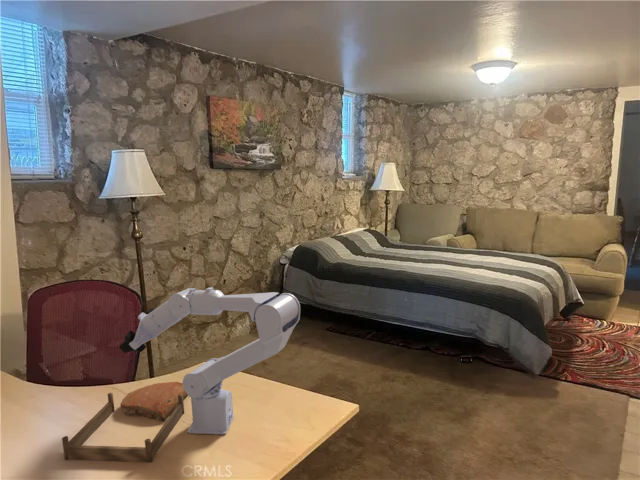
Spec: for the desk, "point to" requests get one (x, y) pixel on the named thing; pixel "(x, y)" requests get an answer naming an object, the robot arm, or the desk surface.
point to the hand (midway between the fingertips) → (131, 339)
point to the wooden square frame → (114, 453)
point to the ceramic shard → (153, 400)
